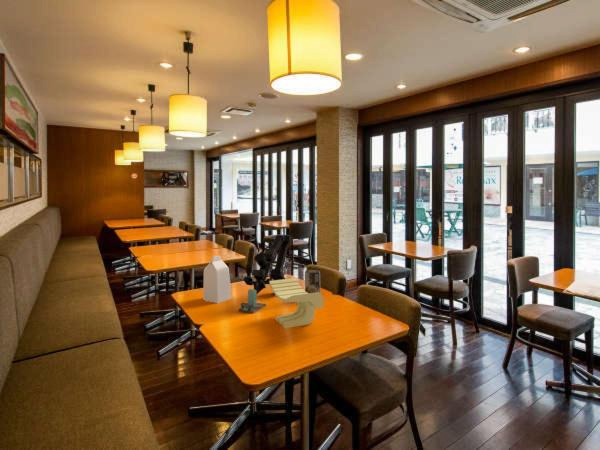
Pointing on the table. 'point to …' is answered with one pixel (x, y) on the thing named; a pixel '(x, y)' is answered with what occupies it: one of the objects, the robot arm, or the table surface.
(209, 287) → the milk
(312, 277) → the coffee box
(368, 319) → the table surface
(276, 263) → the robot arm
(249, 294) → the teal block
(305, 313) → the slatted curved stool
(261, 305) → the bracket
